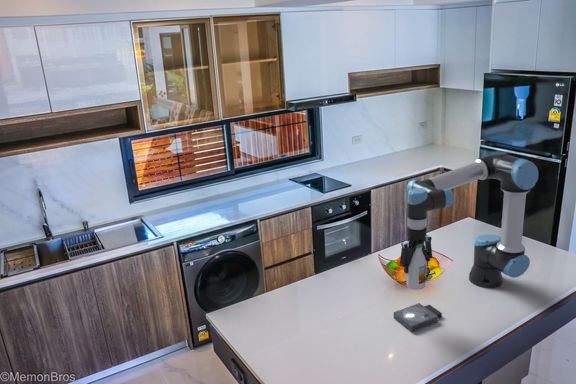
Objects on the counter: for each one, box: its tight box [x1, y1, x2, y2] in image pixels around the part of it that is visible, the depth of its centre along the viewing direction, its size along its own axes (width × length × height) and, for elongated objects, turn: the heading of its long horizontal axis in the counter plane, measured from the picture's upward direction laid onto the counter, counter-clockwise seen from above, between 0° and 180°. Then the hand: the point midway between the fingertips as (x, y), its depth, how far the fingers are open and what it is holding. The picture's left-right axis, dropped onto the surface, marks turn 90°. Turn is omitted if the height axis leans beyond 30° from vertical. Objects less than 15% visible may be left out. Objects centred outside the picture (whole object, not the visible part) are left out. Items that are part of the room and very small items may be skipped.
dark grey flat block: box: [393, 302, 443, 333], centre depth 208 cm, size 18×12×3 cm, turn 115°
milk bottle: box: [406, 243, 427, 291], centre depth 198 cm, size 8×8×20 cm
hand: (415, 276), depth 200 cm, fingers closed on milk bottle, 8 cm apart
